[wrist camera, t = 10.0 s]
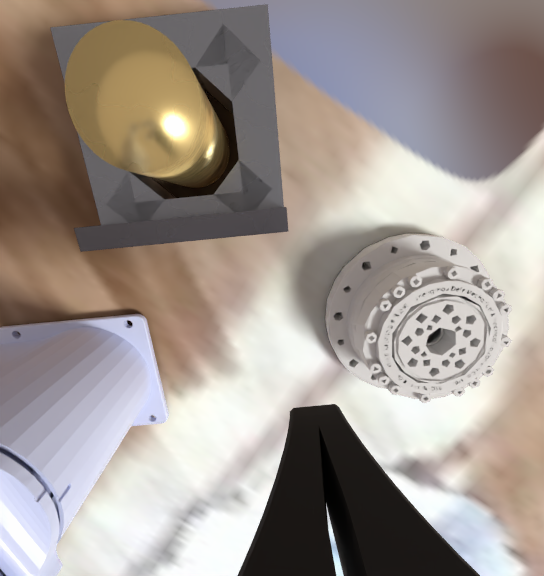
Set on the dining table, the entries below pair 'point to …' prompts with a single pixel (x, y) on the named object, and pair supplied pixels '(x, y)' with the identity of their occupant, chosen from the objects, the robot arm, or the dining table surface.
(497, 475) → the dining table surface
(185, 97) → the brass cylinder rod
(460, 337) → the mechanical component
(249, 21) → the jig
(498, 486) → the dining table surface
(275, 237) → the dining table surface
